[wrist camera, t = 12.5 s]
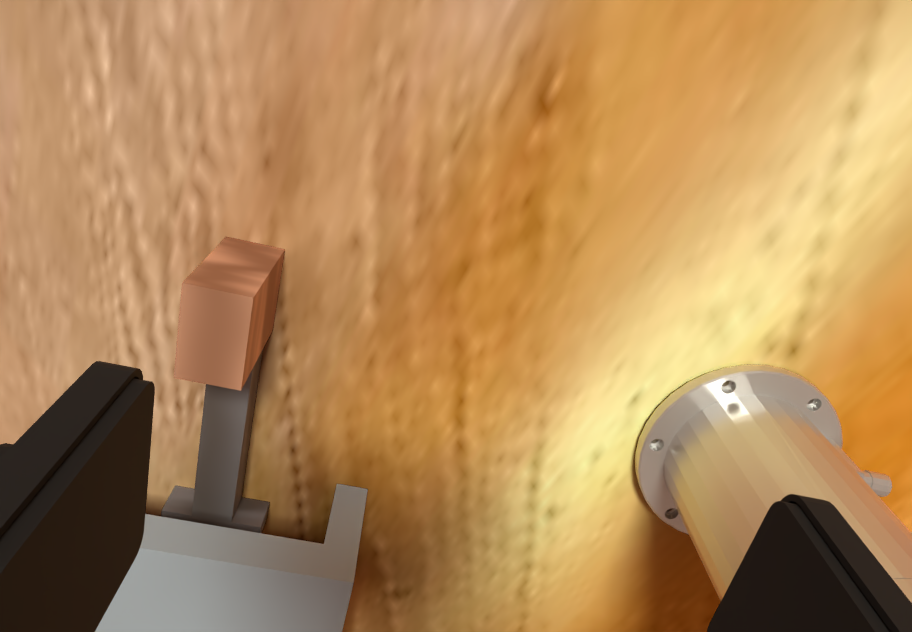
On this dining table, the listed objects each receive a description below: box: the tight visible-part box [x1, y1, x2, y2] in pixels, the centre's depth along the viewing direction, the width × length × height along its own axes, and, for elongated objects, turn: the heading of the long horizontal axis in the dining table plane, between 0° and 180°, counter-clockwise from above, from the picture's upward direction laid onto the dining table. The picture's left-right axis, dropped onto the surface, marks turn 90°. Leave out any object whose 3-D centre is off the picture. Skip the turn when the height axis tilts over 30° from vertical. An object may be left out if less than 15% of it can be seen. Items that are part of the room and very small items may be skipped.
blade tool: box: [161, 237, 285, 533], centre depth 38 cm, size 6×18×7 cm, turn 167°
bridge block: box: [95, 484, 368, 632], centre depth 42 cm, size 18×8×8 cm, turn 77°
